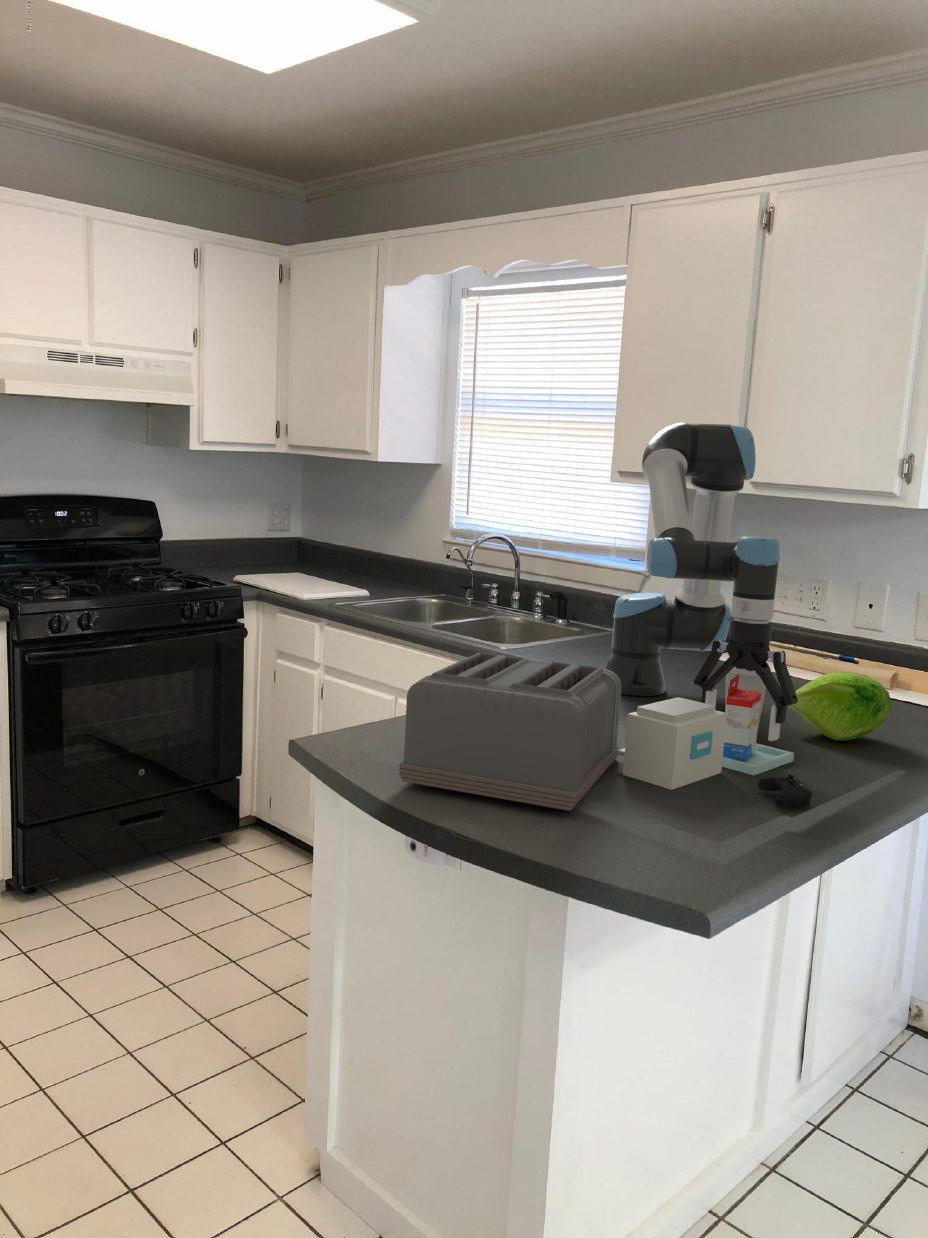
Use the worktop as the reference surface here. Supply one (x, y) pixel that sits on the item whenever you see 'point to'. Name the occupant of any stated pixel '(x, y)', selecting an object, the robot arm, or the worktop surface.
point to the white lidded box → (674, 742)
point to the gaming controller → (786, 790)
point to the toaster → (512, 729)
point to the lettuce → (843, 705)
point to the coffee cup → (747, 684)
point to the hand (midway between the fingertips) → (740, 731)
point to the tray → (760, 760)
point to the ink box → (741, 721)
